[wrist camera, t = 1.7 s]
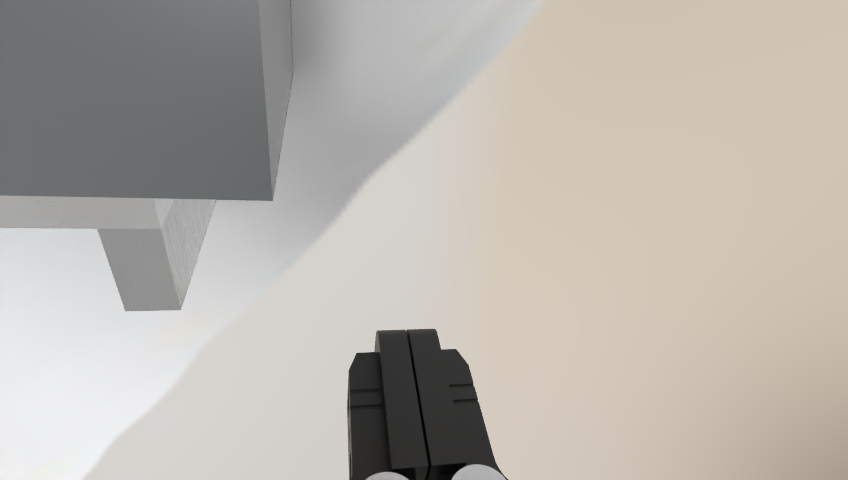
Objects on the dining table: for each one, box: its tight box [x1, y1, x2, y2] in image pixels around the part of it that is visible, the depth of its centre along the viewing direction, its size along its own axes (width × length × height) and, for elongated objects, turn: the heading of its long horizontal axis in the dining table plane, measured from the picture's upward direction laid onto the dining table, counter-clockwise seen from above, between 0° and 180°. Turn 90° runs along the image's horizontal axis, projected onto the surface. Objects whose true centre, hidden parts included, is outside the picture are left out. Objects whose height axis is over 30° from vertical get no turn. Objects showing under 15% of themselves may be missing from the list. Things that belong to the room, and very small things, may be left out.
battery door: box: [0, 195, 216, 311], centre depth 15 cm, size 4×10×7 cm, turn 83°
